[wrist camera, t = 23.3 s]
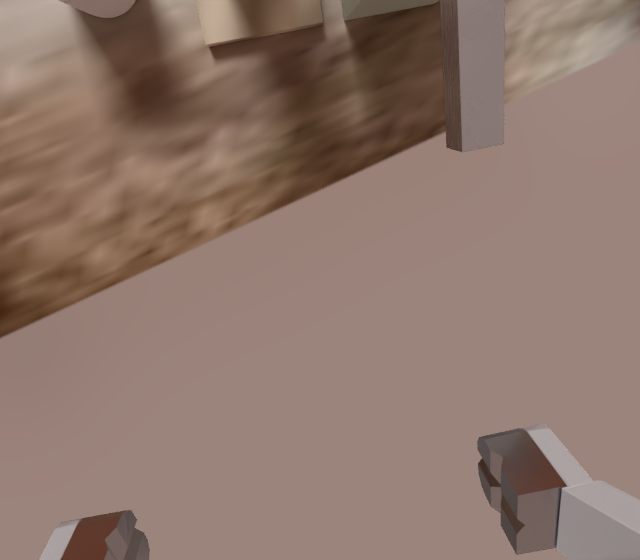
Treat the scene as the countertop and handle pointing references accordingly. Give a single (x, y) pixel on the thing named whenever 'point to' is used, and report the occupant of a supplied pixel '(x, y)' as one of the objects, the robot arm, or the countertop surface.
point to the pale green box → (378, 7)
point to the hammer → (473, 72)
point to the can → (102, 7)
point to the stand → (255, 18)
